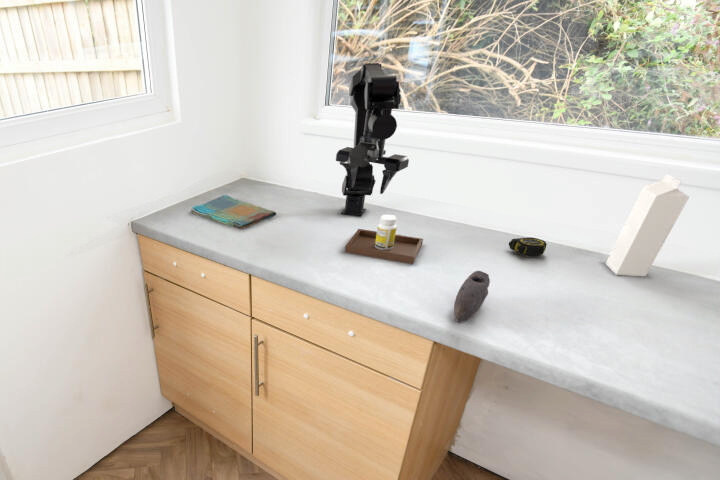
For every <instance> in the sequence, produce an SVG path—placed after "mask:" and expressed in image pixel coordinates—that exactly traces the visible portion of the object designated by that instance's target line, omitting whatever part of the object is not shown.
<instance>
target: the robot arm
mask: <svg viewBox="0 0 720 480" xmlns="http://www.w3.org/2000/svg"><path fill="white" fill-rule="evenodd" d="M349 83H350V84H349V89H348V96H349V97H350V106H351V107H352V109H353V110H354V112H355V115H354V116H355V117H354V132H353V133H354V136H353V147H351V146H346V147H344V148H342V149H339V150H338V151H337V152H336V154H335V162H338V163H339V165H341V166H342V167H343V168H344V169H345V172H346V175H344V178H343V181H342V185H341V193H342V195H343V196H344V197H345V203H344V204H345V205H344V208H343V210H342V211H340V214H341V215H345V216H351V217H352V216H353V217H360V218H361V217H362V216H363V215H364V214H365V213H366V211H367V208H365V207H364V206H365V200H366V196H372V195H373V191H374V187H375V184H376V181H377V180H376V179H375V175H374V166H373V164H378V165H383V167H384V169H383V170H382V171H381V172H382V179H381V184H380V191H379V194H380V195H383V194H384V193H385V191H386V189H387V187H388V186H389V184H390V183H391V181H392V180H393V178H394V177H395V175H396V174H397V173H398V172H401V171H402V170H405V169H407V168H408V167H409V162H410V160H409V157H408V156H407V155H402V154H396V153H395V154H392V155H390V156H385V155H386V152H387V150H385V145H386V140H388V139H389V138H391V137H393V135H394V134H395V132H396V130H397V129H398V128H397V127H398V123H397V119H396V118H395V117H394V116H393V114H392V111H393V110H398V109H399V108H400V107H399V106H400V104H401V102H402V97H401V96H402V94H401V90H402V89H401V85H400V81H399V80H398V77H397V76H396V75H391V74H386V73H385V71H384V70H383V67H382V63H379V62H366V63H364V64H361V67H360V69H359V70H357V72H356V73H354V74H353V75H352V77H351V80H350V82H349Z"/></svg>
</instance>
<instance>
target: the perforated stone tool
mask: <svg viewBox="0 0 720 480" xmlns="http://www.w3.org/2000/svg"><path fill="white" fill-rule="evenodd" d="M490 283H491V281H490V274H488V273H486V272H484V271H482V270H475V271H474V272H472V273H471V274H470V275H469V276H468V277H467V278H466V279H465V280H464V282H463V283H462V284H461V286H460V288H459V290H458V291H457V294H456V296H455V300H454V304H453V305H454V306H453V315H454V318H455V320H456V321H457V323H462V322H467V321H468V320H469V319H471V318H473V317H474V315H475V314H476V313H477V312H478V311H479V310H480V308H481V307H482V305H483V304H484V302H485V300H486V299H487V297H488V295H489V287H490Z"/></svg>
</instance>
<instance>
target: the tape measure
mask: <svg viewBox="0 0 720 480" xmlns="http://www.w3.org/2000/svg"><path fill="white" fill-rule="evenodd" d="M508 246H509V249H510V250H511V251H514V252H515V253H516V254H518V255H520V256H524V257H528V258H530V257H531V258H535V257H541V256H543V254H544V253H545V251H546V249H547V242H546V241H545V240H543V239H540V238H537V237H529V236H528V237H519V238H512V239H511V240H509V241H508Z"/></svg>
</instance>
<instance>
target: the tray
mask: <svg viewBox="0 0 720 480" xmlns="http://www.w3.org/2000/svg"><path fill="white" fill-rule="evenodd" d="M376 234H377V230H376V231H375V230H369V229H363V228H358V229H357V230H356V232H354V233H353V235H352V237H351V238H350V239H349V240H348V242H347V243H346V244H345V249H344V253H347V254H353V255H358V256H363V257H369V258H375V259H380V260H386V261H393V262H398V263H403V264H410V265H414V263H415V260H416V259H417V256H418V254H419V252H420V251H421V248H422V246H423V243H424V238H422V237H415V236H408V235H402V234H397V233H396V234H395V239H394V245H393V248H392V249H390V250H380V249H377V248H376V247H375V241H376Z"/></svg>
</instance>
